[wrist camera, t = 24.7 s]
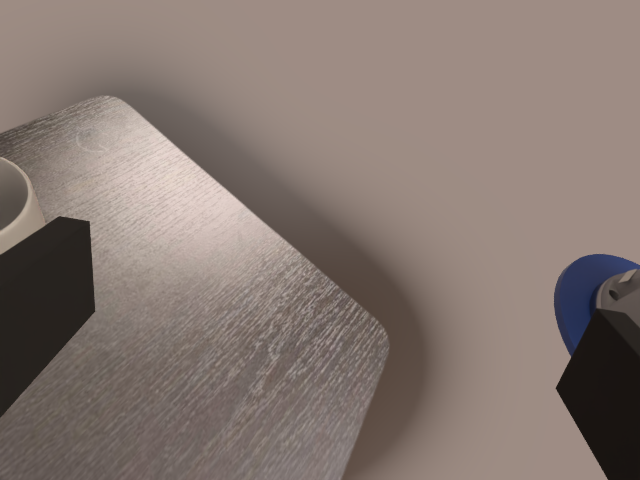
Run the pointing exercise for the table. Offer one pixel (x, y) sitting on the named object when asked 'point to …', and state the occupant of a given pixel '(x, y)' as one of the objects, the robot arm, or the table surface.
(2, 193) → the mug
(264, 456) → the table surface
